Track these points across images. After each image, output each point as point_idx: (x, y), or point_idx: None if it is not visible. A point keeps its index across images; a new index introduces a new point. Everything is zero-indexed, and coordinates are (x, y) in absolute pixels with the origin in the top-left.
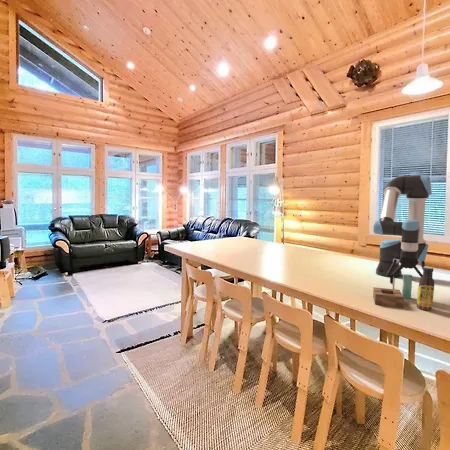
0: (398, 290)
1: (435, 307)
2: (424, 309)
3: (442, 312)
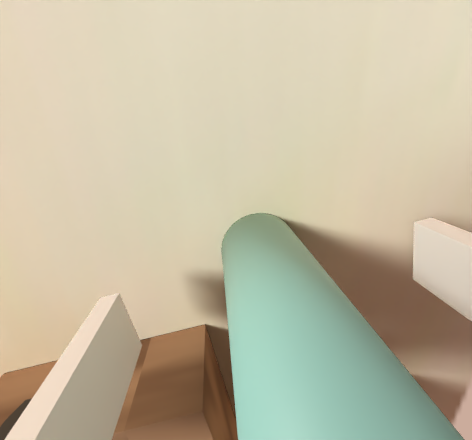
0: (196, 436)
1: (435, 347)
2: None
3: (448, 402)
